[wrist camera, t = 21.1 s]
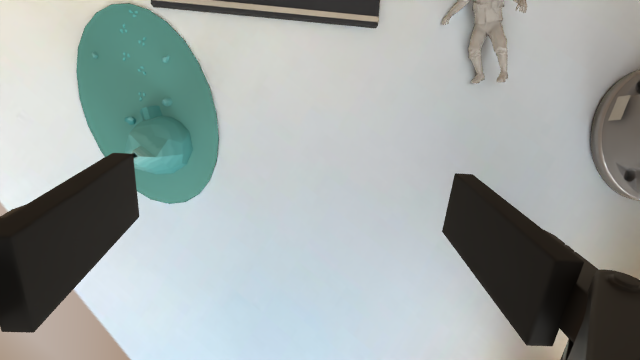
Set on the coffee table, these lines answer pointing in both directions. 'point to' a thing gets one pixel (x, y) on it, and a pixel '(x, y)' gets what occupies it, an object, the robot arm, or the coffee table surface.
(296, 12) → the road
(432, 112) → the coffee table surface
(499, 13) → the soldier figure
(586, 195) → the coffee table surface
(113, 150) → the diorama
